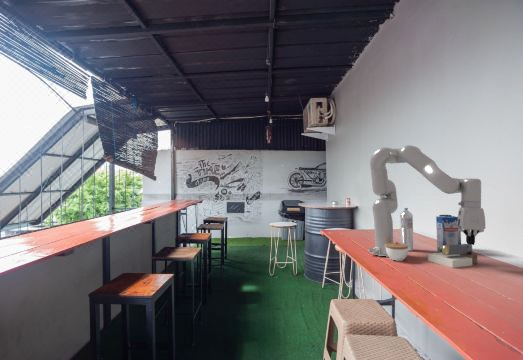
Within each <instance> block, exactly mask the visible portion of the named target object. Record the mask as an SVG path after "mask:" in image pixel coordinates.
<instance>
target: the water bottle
mask: <svg viewBox="0 0 523 360" xmlns="http://www.w3.org/2000/svg"><path fill="white" fill-rule="evenodd" d="M413 216H414V215H413V214H412V212H411V211H409V209H408V207H404V210H403V211H401V213H400V214H399V219H400V221H399V222H400V224H399V225H400V228H399V231H400V243H401V244H406V245H408V252H413V251H414V250H415V248H414V247H415V246H414V245H415V243H414V242H415V241H414V226H413V225H414V224H413V223H414V222H413V221H414V219H413V218H414V217H413Z"/></svg>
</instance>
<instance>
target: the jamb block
mask: <svg viewBox="0 0 523 360" xmlns="http://www.w3.org/2000/svg"><path fill="white" fill-rule="evenodd" d="M458 255H462V256H466V257H470V258H472V266H473V265H478V254H476V253H473V252H472V254H458Z"/></svg>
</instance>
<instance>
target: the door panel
mask: <svg viewBox="0 0 523 360" xmlns="http://www.w3.org/2000/svg"><path fill="white" fill-rule="evenodd" d="M427 261H428V262H431V263H435V264H438V265H441V266H445V267H448V268H452V269H455V268H464V267H472V266H473V265H472V258H470V257H466V256H462V255H459V254H455V255H443V254H442V252H431V253H427Z"/></svg>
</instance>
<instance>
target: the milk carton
mask: <svg viewBox="0 0 523 360" xmlns="http://www.w3.org/2000/svg"><path fill="white" fill-rule="evenodd" d="M435 217H436V219H435V220H436V221H435V223H436V225H435V226H436V245H437V247H436V249H437V251H438V253H440V252H442V245H459V244H462V232H461V231H458V225H457V221H458V216H455V215H452V216H439V215H438V216H435Z"/></svg>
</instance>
